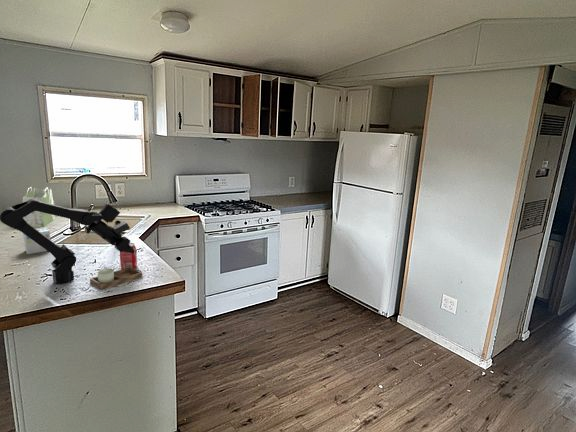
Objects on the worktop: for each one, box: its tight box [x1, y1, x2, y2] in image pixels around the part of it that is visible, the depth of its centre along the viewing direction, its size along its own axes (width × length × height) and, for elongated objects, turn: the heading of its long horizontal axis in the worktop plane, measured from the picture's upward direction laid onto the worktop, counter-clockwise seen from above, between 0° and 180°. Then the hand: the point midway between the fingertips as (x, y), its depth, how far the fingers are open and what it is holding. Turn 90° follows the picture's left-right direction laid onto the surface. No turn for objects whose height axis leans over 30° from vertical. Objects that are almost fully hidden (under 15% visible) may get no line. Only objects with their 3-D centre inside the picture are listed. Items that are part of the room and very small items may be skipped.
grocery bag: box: [21, 186, 58, 228], centre depth 234 cm, size 32×14×23 cm, turn 20°
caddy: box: [89, 267, 143, 291], centre depth 151 cm, size 18×10×3 cm, turn 144°
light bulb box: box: [22, 227, 52, 255], centre depth 182 cm, size 11×7×11 cm, turn 134°
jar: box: [97, 268, 115, 284], centre depth 147 cm, size 6×6×6 cm
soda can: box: [119, 242, 138, 270], centre depth 164 cm, size 7×7×12 cm
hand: (131, 250), depth 165 cm, fingers closed on soda can, 7 cm apart
